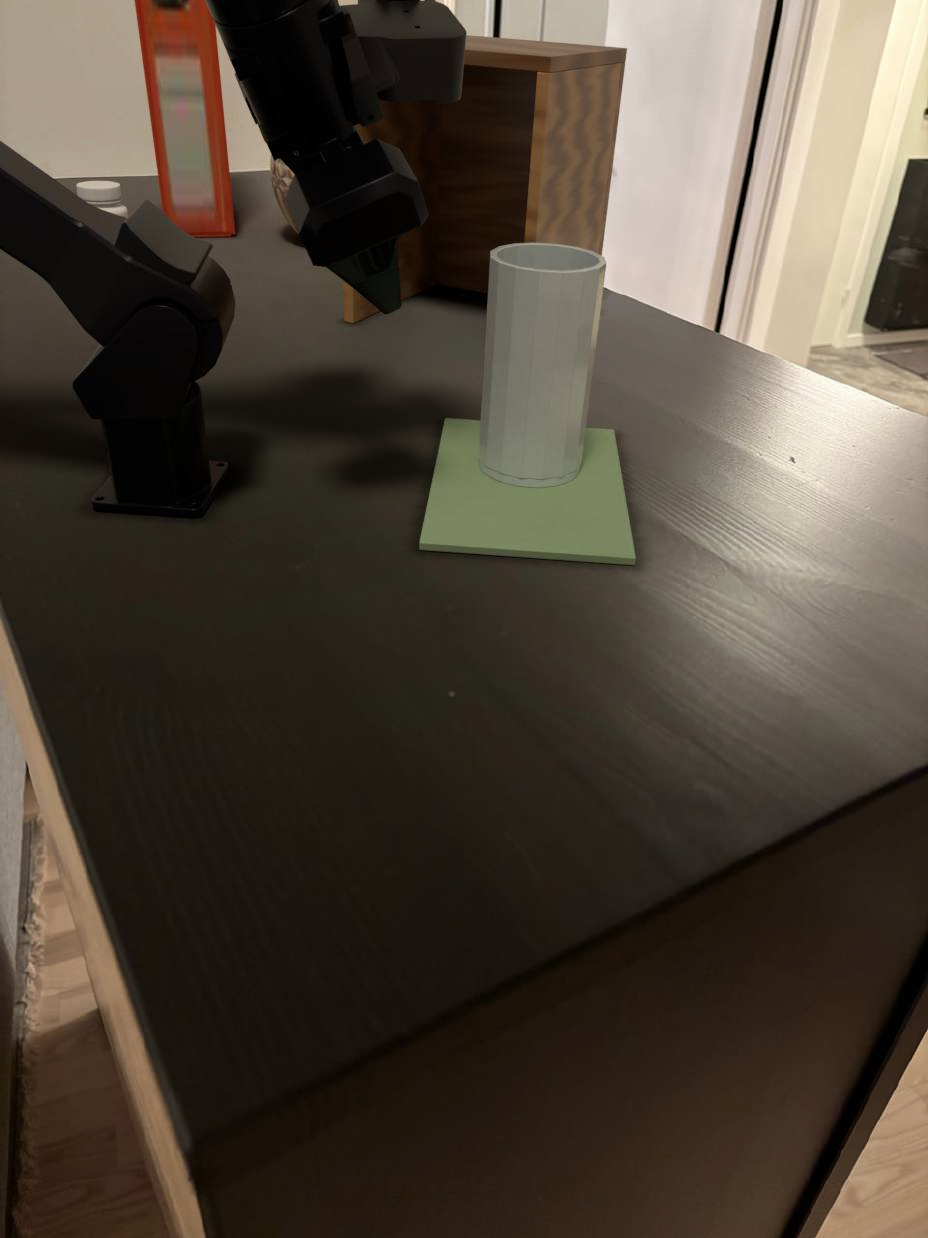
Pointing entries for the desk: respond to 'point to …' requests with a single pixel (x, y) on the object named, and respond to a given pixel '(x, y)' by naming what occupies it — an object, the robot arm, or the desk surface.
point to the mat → (527, 505)
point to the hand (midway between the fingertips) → (372, 266)
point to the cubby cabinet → (505, 159)
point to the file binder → (187, 114)
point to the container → (538, 361)
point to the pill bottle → (103, 196)
